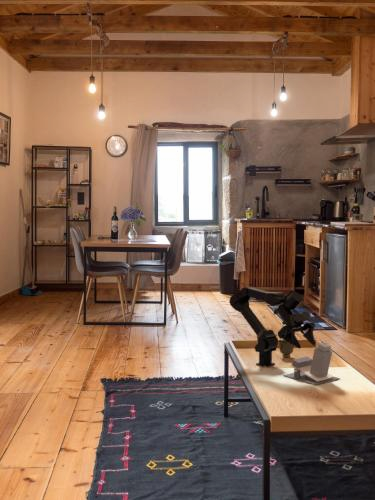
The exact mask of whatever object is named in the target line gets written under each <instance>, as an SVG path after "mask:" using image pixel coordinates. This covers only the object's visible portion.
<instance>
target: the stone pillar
mask: <svg viewBox="0 0 375 500" xmlns="http://www.w3.org/2000/svg"><path fill="white" fill-rule="evenodd" d="M331 347H332V346H331V345H330V344H328V343H325V342H320V343H318V344H317V347H314V351H313V356H312V358H311V359H312V364H311V369H310V373H311V374H313V375H314V376H316V377H318V378H322V377H326V376H327V374H329V368H330V364H331V361H332V355H333V351H332V350H331Z"/></svg>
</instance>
